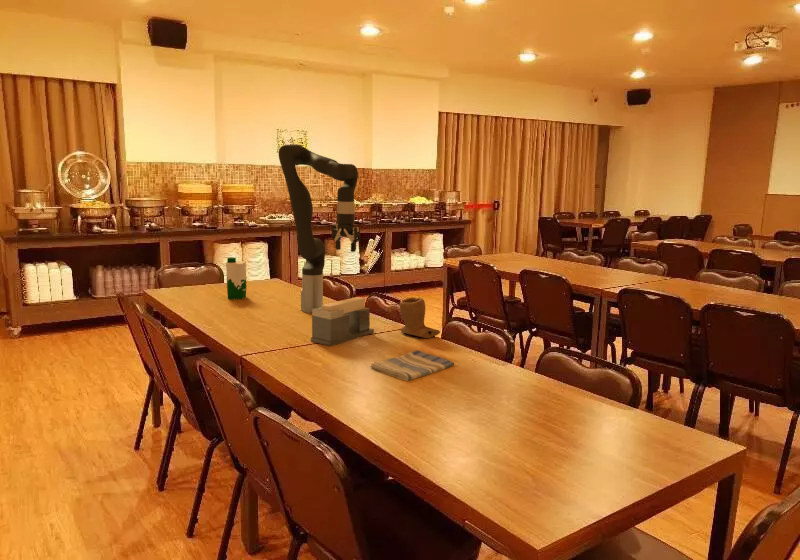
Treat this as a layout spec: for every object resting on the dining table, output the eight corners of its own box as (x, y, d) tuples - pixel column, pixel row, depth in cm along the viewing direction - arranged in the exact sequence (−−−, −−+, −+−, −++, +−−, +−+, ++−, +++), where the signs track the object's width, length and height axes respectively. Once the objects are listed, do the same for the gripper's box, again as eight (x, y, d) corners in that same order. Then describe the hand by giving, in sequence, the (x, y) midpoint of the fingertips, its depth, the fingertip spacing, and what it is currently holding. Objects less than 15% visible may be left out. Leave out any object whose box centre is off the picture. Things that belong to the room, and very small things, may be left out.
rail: (321, 315, 228) (321, 305, 228) (357, 306, 244) (357, 296, 243) (329, 317, 226) (329, 306, 225) (364, 308, 242) (364, 298, 241)
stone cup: (392, 333, 242) (393, 297, 240) (414, 329, 250) (415, 293, 248) (419, 342, 231) (420, 303, 229) (440, 336, 239) (442, 299, 237)
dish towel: (368, 370, 200) (368, 361, 199) (418, 355, 216) (418, 348, 216) (406, 383, 188) (406, 375, 187) (455, 367, 204) (455, 359, 204)
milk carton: (230, 295, 307) (229, 256, 303) (248, 296, 307) (247, 257, 303) (225, 299, 298) (224, 259, 295) (243, 299, 298) (242, 259, 295)
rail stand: (310, 341, 229) (310, 309, 227) (354, 328, 249) (355, 298, 247) (330, 346, 224) (330, 313, 221) (373, 332, 243) (374, 302, 241)
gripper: (327, 211, 256) (327, 249, 259) (352, 213, 248) (352, 253, 251) (339, 211, 262) (339, 248, 265) (364, 212, 254) (364, 251, 257)
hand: (345, 250), depth 258 cm, fingers open, 8 cm apart
